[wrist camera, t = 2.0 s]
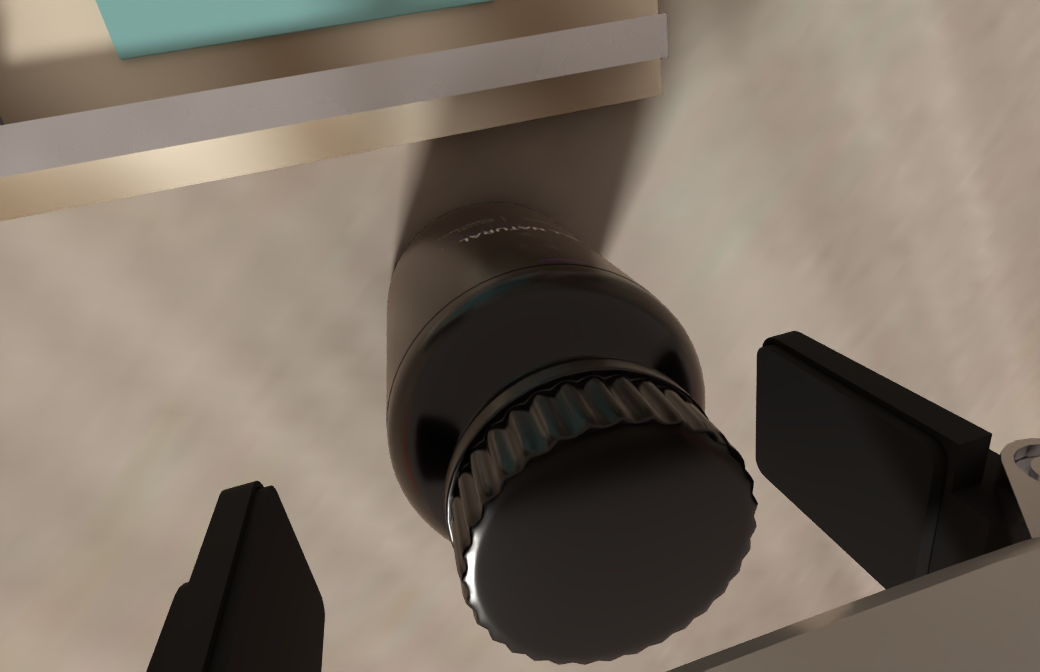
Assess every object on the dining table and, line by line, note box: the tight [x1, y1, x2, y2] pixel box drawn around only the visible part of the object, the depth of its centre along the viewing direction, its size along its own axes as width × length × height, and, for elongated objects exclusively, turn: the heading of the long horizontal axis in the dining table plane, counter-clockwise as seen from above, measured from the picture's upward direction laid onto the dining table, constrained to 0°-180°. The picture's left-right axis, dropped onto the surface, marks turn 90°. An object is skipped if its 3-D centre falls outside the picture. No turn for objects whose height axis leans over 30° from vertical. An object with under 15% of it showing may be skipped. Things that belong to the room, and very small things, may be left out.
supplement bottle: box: [386, 202, 758, 665], centre depth 14 cm, size 7×7×12 cm
